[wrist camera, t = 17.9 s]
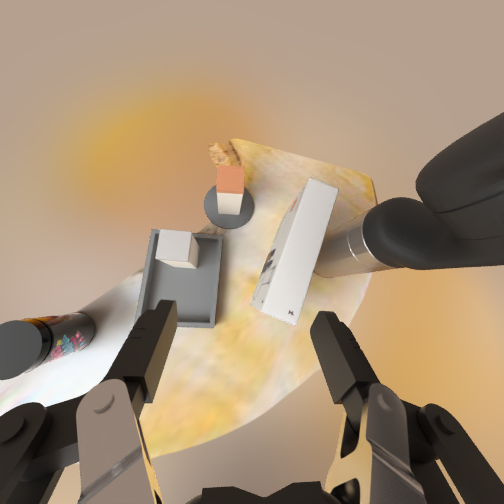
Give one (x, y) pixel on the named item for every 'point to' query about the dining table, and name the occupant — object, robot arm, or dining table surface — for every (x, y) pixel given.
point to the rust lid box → (229, 189)
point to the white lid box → (177, 249)
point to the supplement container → (41, 341)
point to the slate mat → (228, 219)
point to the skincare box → (294, 253)
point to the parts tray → (184, 283)
